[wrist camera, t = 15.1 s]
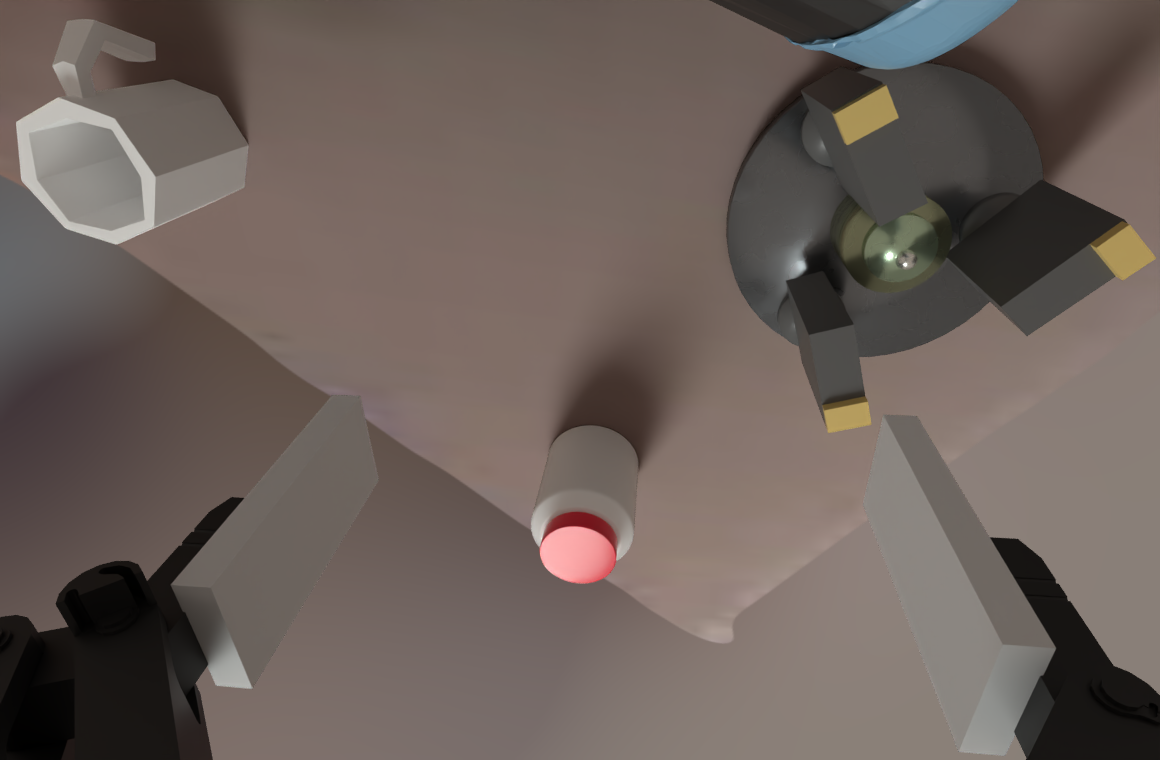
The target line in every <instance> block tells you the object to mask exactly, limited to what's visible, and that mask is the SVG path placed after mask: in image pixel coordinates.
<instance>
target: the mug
mask: <svg viewBox="0 0 1160 760" xmlns="http://www.w3.org/2000/svg"><path fill="white" fill-rule="evenodd" d="M100 50H101V51H103V52H106V53H108V54H110V55H113V56H115V57H117V58H120V59H122V60H125V61H133V62H148V61H154V60H156V52H155V42H152V41H149V40H147V39H144V38H141V37H139V36H136V35H133V34H131V33H128V32H125V31H123V30H120V29H117V28H115V27H112V26H109V25H107V24H104V23H101V22H99V21H96V20H89V19H79V20H71V21H67V23H66V26H65V29H64V32H63V35H62V38H61V41H60V44H59V47H58V50H57V53H56V56H55V59H54V62H53V65H52V66H53V68H54V70H55V72H56V74H57V76H58V78H59V81H60V83H61V85H62V87H63V89H64V91H65V93H66V95H67V96H64V97H58V98H56V99H55V100H53V101H51V102H50V103H48V104H46V105H44V106H43V107H41V108H39V109H38V110H36V111H34V112H32V113H31V114H29V115H27V116H26V117H24V118H22V119H21V120H19V121H17V122H16V127H17V137H18V148H19V159H20V170H21V180H22V182H23V183H24V184H25V185H26V186H27V187H28V188H29V189H30V190H31V191H32V193H33V194H34V195H35V196H36V197H37V198H38V199H39V200H40V201H41V202H42V203H43V204H44V206H45V207H46V208H47V209H48V210H49V211H50V212H51V213H52V214H53V215H54V216H55V217H56V219H57V220H58V221H59V222H60V223H61V224H62V225H63V226H64V227H65V228H66V229H69V230H72V231H75V232H78V233H81V234H84V235H88V236H91V237H94V238H97V239H101V240H103V241H107V242H110V243H113V244H116V245H117V244H119V243H122V242H124V241H126V240H128V239H131V238H133V237H135V236H138V235H140V234H142V233H144V232H147V231H149V230H151V229H153V228H156V227H158V226H160V225H162V224H165V223H167V222H169V221H172V220H174V219H176V218H178V217H181V216H183V215H185V214H187V213H190V212H192V211H194V210H196V209H199V208H201V207H203V206H206V205H208V204H210V203H212V202H214V201H217V200H219V199H221V198H223V197H225V196H227V195H229V194H232V193H234V192H236V191H238V190H240V189H242V188H244V187H245V177H246V167H247V158H248V148H249V145H248V143H247V142H246V140H245V138H244V137H243V135H242V134H241V132H240V130H239V129H238V127H237V126H236V124H235V122H234V121H233V119H232V118H231V116H230V114H229V113H228V111H227V110H226V108H225V107H224V105H223V103H222V102H221V100H220V99H219V97H218V96H216V95H213V94H210V93H208V92H205V91H202V90H200V89H197V88H195V87H192V86H189V85H187V84H184V83H181V82H179V81H176V80H173V79H172V80H166V81H159V82H153V83H147V84H140V85H134V86H128V87H121V88H115V89H109V90H102V91H95V87H94V83H93V79H92V75H91V70H92V68H93V65H94V63H95V61H96V59H97V57H98V55H99V52H100Z"/></svg>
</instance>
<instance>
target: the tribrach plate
mask: <svg viewBox="0 0 1160 760" xmlns="http://www.w3.org/2000/svg"><path fill="white" fill-rule="evenodd" d="M852 71H855V72H857V73H860V74H863V75H865V76H868V77H871V78H873V79H876V80H879V81H881V82H882V83H883V84H885V85H887V88H888V91H889V93H890V96H891V99H892V101H893V104H894V106H895V109H896V112H897V114H898V117H899V118H897V119H896V120H897V123H898V125H899V128H900V130H901V133H902V136H903V138H904V141H905V144H906V146H907V149H908V151H909V154H910V157H911V159H912V162H913V165H914V167H915V170H916V172H917V175H918V178H919V180H920V183H921V186H922V188H923V191H924V194H925V196H926V199H927V201H928V203H927V204H925V205H923V206H921V207H919V208H917V209H915V210H913V211H911V212H909V213H907V214H905V215H903V216H901V217H899V218H897V219H894V220H892V221H890V222H888V223H886V224H884V225H882V226H880V227H879V226H878V225H877V224H876V223H875V221H874V220H873V219H872V218H871V217H870V216H869V215H868V214H867V213H866V212H865V211H864V210H863V209H862V208H861V207H860V205H859V204H858V203H857V202H856V201H855V200H854V199H853V198H852V197H851V196H850V195H849V194H848V193H847V192H846V191H845V189H844V188H843V187H842V185H841V183H840V181H839V178H838V176H837V174H836V171H835V169H834V167H828V166H824V165H822V164H820V163H818V162H816V161H815V160H814V159H813V158H812V157H811V156H810V155H809V154H808V153H807V151H806V150H805V148H804V146H803V144H802V140H801V124H802V120H803V117H804V115H805V113H806V111H807V109H808V106H807V104H806V102H805V99H804V97H803V95H801V96H800V97H798V98H797V99H796V100H795V101H793V102H792V103H791V104H790V105H789V106H787V107H786V108H785V109H784V110H783V111H781V112H780V113H779V114H778V116H777V117H776V118H775V119H774V120H773V121H772V122H771V123H770V124H769V125H768V126H767V127H766V128H765V130H764V131H763V132H762V134H761V135H760V136H759V138H758V139H757V140H756V142H755V143H754V144H753V146H752V147H751V149H750V151H749V153H748V154H747V156H746V158H745V160H744V161H743V163H742V165H741V168H740V170H739V172H738V175H737V177H736V180H735V182H734V186H733V189H732V193H731V196H730V200H729V206H728V213H727V229H726V237H727V245H728V253H729V257H730V262H731V265H732V269H733V273H734V276H735V279H736V281H737V283H738V286H739V288H740V290H741V293H742V294H743V296H744V297H745V299H746V301H747V302H748V304H749V305H750V307H751V308H752V309H753V311H754V312H755V313H756V314H757V315H758V316H759V318H760V319H761V320H762V321H763V322H765V323H766V324H767V325H768V326H769V327H770V328H771V329H772V330H774V331H775V332H777V333H778V334H780V335H781V336H783V334H782V332H781V330H780V327H779V324H778V320H777V313H778V309H779V306H780V304H781V302H782V300H783V299H784V298H785V296H786V295H787V294H788V289H787V284H786V280H789V279H793V278H797V277H801V276H805V275H809V274H813V273H817V272H821V271H824V273H825V275H826V277H827V278H828V280H829V282H830V284H831V285H832V287H833V289H834V291H835V292H837V294H838V295H839V296H840V298H841V299H842V301H843V303H844V305H845V308H846V311H847V313H848V315H849V317H850V318H851V320H852V322H853V324H854V328H855V334H856V340H857V347H858V353H859V357H872V356H880V355H887V354H892V353H896V352H901V351H905V350H909V349H912V348H914V347H917V346H920V345H923V344H925V343H928V342H930V341H932V340H934V339H936V338H939V337H941V336H943V335H945V334H947V333H948V332H950V331H952V330H953V329H955V328H956V327H958V326H960V325H961V324H963V323H964V322H966V321H967V320H968V319H970V318H971V317H972V316H974V315H975V314H976V313H978V312H979V311H980V310H981V309H982V308H983V307H984V306H985V305H986V304H988V303H989V302H990V301H989V300H988V299H987V298H986V297H985V296H983V295H982V294H981V293H980V292H979V291H978V290H977V289H976V288H975V287H974V286H973V285H972V284H971V283H970V282H968V281H967V280H966V279H965V277H964V276H963V275H962V274H961V273H960V272H959V271H958V270H957V269H956V268H955V266H954V265H953V264H952V263H951V262H950V261H949V260H948V259H947V258H946V257H947V255H948V253H949V250H950V249H952V248H953V247H954V246H956V245H957V244H958V243H959V228H960V224H961V222H962V220H963V218H964V216H965V215H966V213H967V212H968V211H969V210H970V209H971V208H972V207H973V206H974V205H975V204H976V203H977V202H979V201H980V200H982V199H984V198H986V197H988V196H990V195H993V194H997V193H1005V192H1007V193H1015V194H1019V195H1021V194H1023V193H1024V192H1025V191H1027V190H1028V189H1029V188H1030V187H1032V186H1033V185H1034V184H1036V183H1037V182H1038V181H1040V180H1043V167H1042V162H1041V157H1040V153H1039V148H1038V145H1037V143H1036V140H1035V138H1034V135H1033V133H1032V130H1031V128H1030V127H1029V125H1028V123H1027V122H1026V120H1025V118H1024V117H1023V115H1022V114H1021V112H1020V111H1019V110H1018V109H1017V108H1016V107H1015V105H1014V104H1013V103H1012V102H1011V101H1010V100H1009V99H1008V98H1007V97H1006V96H1005V95H1004V94H1002V93H1001V92H1000V91H999V90H997V89H996V88H995V87H994V86H992V85H991V84H989V83H987V82H985V81H984V80H982V79H980V78H978V77H976V76H975V75H972V74H969V73H967V72H964V71H961V70H958V69H956V68H952V67H948V66H943V65H938V64H933V63H928V62H923V63H920V64H917V65H914V66H910V67H905V68H900V69H890V70H887V69H875V68H869V67H866V66H863V67H859V68H856V69H853V70H852ZM783 337H784V336H783ZM784 338H785V337H784Z"/></svg>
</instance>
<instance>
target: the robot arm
mask: <svg viewBox="0 0 1160 760" xmlns="http://www.w3.org/2000/svg"><path fill="white" fill-rule="evenodd" d="M710 1H712V2H714V3H716V4H718V5H720V6H723V7H725V8H727V9H729V10H731V11H733V12H735V13H737V14H739V15H741V16H743V17H745V18H747V19H750V20H752V21H754V22H756V23H758V24H760V25H762V26H764V27H766V28H768V29H770V30H772V31H774V32H777V33H779V34H781V35H783V36H784V37H785V38H786V39H787V40H788V41H789V42H791V43H792V44H794V45H800V46H801V47H803V48H804V49H810V50H823V51H826V52H829V53H831V54H834V55H837V56H839V57H842V58H845V59H847V60H850V61H852V62H855V63H858V64H860V65H863V66H866V67H869V68H875V69H887V70H890V69H900V68H905V67H910V66H914V65H917V64H920V63H923V62H926V61H929V60H931V59H933V58H936V57H938V56H940V55H942V54H944V53H946V52H948V51H949V50H951V49H953V48H955V47H957V46H958V45H960V44H961V43H963V42H965V41H966V40H968V39H969V38H971V37H972V36H974V35H975V34H977V33H978V32H979V31H981V30H982V29H984V28H985V27H986V26H988V25H989V24H990V23H992V22H993V21H994V20H996V19H997V18H998V17H999V16H1001V15H1002V14H1003V13H1004V12H1006V11H1007V10H1008V9H1009V8H1010V7H1012V6H1013V5H1014V4H1015V3H1016V2H1017V1H1018V0H710ZM378 480H379V479H378V475H377V470H376V465H375V461H374V456H373V451H372V447H371V442H370V438H369V434H368V429H367V424H366V419H365V415H364V410H363V406H362V401H361V397H360V396H347V395H332V396H331V397H330V399H329V400H328V401H327V402H326V403H325V404H324V406H323V407H322V408H321V409H320V410H319V412H318V413H317V414H316V415H315V416H314V418H313V419H312V420H311V421H310V422H309V423H308V424H307V426H306V427H305V428H304V429H303V430H302V432H301V433H300V434H299V435H298V436H297V437H296V439H295V440H294V441H293V442H292V443H291V444H290V446H289V447H288V448H287V449H286V450H285V452H284V453H283V454H282V455H281V456H280V457H279V458H278V460H277V461H276V462H275V463H274V464H273V466H272V467H271V468H270V469H269V470H268V471H267V473H266V474H265V475H264V476H263V477H262V478H261V479H260V481H259V482H258V483H257V484H256V485H255V487H254V488H253V489H252V490H251V491H250V492H249V494H248V495H247V496H246V497H245V498H234V497H232V498H230V499H228V500H227V501H225V502H224V503H222V504H221V505H219V506H217V507H216V508H214V509H213V510H211V511H210V512H209V513H208V514H207V515H206V516H205V518H203V520H202V521H201V522H200V523H199V524H198V525H197V526H196V528H195V530H194V532H191V533H190V534H189V535H188V536H187V537H186V539H185V540H184V541H183V542H182V546H178V548H177V549H176V550H175V551H174V552H173V553H172V554H171V555H170V556H169V557H168V559H167V560H166V561H165V562H164V563H163V564H162V565H161V566H160V568H159V569H158V570H157V571H156V572H155V573H154V574H153V575H152V576H151V578H150V579H149V580H148V581H147V580H146V578H145V576H144V574H143V572H142V570H141V568H140V567H139V565H138V564H135V563H133V562H130V561H114V562H110V563H106V564H102V565H99V566H96V567H94V568H92V569H90V570H88V571H86V572H84V573H82V574H81V575H79V576H78V577H76V578H75V579H74V580H72V581H71V582H69V583H68V584H67V586H66V587H65V588H64V589H63V590H62V591H61V592H60V593H59V596H58V599H57V602H56V606H57V607H58V609H59V611H60V613H61V614H62V616H63V618H64V619H65V621H66V623H67V625H68V626H69V627H65V628H60V629H55V630H49V631H44V632H39V633H38V632H37V630H36V629H35V627H34V625H33V624H32V623H31V621H30V620H29V619H28V618H27V617H23V616H19V615H13V616H5V617H0V760H213V759H212V753H211V748H210V742H209V737H208V732H207V727H206V722H205V716H204V711H203V706H202V700H201V695H200V692H199V690H198V688H197V686H196V684H195V683H196V681H197V680H198V679H199V677H200V675H201V674H202V673H203V671H204V670H205V668H206V667H207V666H208V669H209V671H210V673H211V675H212V677H213V680H214V682H215V684H216V686H217V685H218V686H228V687H238V688H250V689H252V688H253V687H254V685H255V684H256V682H257V681H258V679H259V677H260V675H261V674H262V672H263V671H264V669H265V667H266V666H267V664H268V662H269V661H270V659H271V657H272V656H273V654H274V652H275V651H276V649H277V647H278V646H279V644H280V642H281V641H282V639H283V637H284V636H285V634H286V633H287V630H288V629H289V628H290V626H291V624H292V622H293V621H294V619H295V618H296V616H297V614H298V613H299V611H300V609H301V607H302V606H303V604H304V603H305V601H306V599H307V598H308V596H309V594H310V593H311V591H312V590H313V588H314V586H315V585H316V583H317V581H318V580H319V578H320V576H321V575H322V573H323V571H324V570H325V568H326V566H327V565H328V563H329V561H330V560H331V558H332V556H333V555H334V553H335V552H336V550H337V548H338V546H339V545H340V543H341V542H342V540H343V538H344V536H345V535H346V533H347V532H348V530H349V528H350V526H351V525H352V523H353V521H354V520H355V518H356V517H357V515H358V513H359V512H360V510H361V509H362V507H363V505H364V504H365V502H366V500H367V499H368V497H369V495H370V494H371V492H372V490H373V489H374V487H375V485H376V484H377V482H378ZM863 506H864V509H865V511H866V514H867V517H868V519H869V522H870V524H871V527H872V529H873V532H874V535H875V537H876V540H877V542H878V545H879V547H880V550H881V553H882V555H883V558H884V560H885V563H886V566H887V568H888V571H889V573H890V576H891V579H892V581H893V583H894V586H895V589H896V592H897V594H898V597H899V599H900V602H901V604H902V607H903V610H904V612H905V615H906V617H907V620H908V622H909V625H910V628H911V630H912V633H913V636H914V638H915V641H916V643H917V646H918V648H919V650H920V654H921V656H922V659H923V661H924V664H925V666H926V669H927V672H928V674H929V677H930V679H931V682H932V685H933V687H934V690H935V692H936V695H937V698H938V700H939V703H940V705H941V708H942V710H943V713H944V715H945V718H946V721H947V723H948V726H949V728H950V731H951V733H952V736H953V739H954V742H955V744H956V747H957V749H958V752H967V753H979V754H989V755H1000V756H1005V755H1006V753H1007V751H1008V749H1009V747H1010V745H1011V743H1012V741H1013V738H1014V736H1015V735H1016V737H1017V739H1018V741H1019V743H1020V745H1021V747H1022V749H1023V751H1024V754H1025V756H1026V758H1027V759H1026V760H1160V695H1159V694H1158V693H1157V692H1156V691H1155V690H1154V689H1153V688H1152V687H1151V686H1150V685H1148V684H1147V683H1146V682H1144V681H1142V680H1141V679H1139V678H1138V677H1136V676H1135V675H1133V674H1132V673H1130V672H1128V671H1125V670H1123V669H1120V668H1118V667H1115V666H1113V664H1112V663H1111V661H1110V660H1109V658H1108V657H1107V655H1106V654H1105V652H1104V651H1103V649H1102V648H1101V646H1100V645H1099V644H1098V642H1097V641H1096V639H1095V637H1094V636H1093V634H1092V633H1091V631H1090V630H1089V628H1088V627H1087V626H1086V624H1085V623H1084V621H1083V619H1082V618H1081V617H1080V615H1079V614H1078V612H1077V611H1076V609H1075V608H1074V606H1073V605H1072V603H1071V602H1070V601H1068V600H1067V596H1066V594H1065V593H1064V591H1063V590H1062V588H1061V587H1060V585H1059V584H1056V580H1055V578H1054V576H1053V575H1052V574H1051V572H1050V570H1049V569H1048V567H1047V566H1046V564H1045V563H1044V561H1043V560H1042V558H1041V557H1039V556H1038V555H1037V554H1036V553H1034V552H1033V551H1032V550H1031V549H1029V548H1028V547H1027V546H1026V545H1025V544H1023V543H1022V542H1021V541H1019V539H1009V538H991V537H989V535H988V534H987V532H986V530H985V529H984V527H983V526H982V524H981V522H980V521H979V519H978V517H977V515H976V514H975V512H974V510H973V509H972V507H971V506H970V504H969V502H968V500H967V499H966V497H965V495H964V494H963V492H962V490H961V489H960V487H959V485H958V484H957V482H956V480H955V479H954V478H953V475H952V474H951V472H950V470H949V469H948V467H947V465H946V464H945V462H944V460H943V459H942V457H941V455H940V454H939V452H938V450H937V449H936V447H935V445H934V444H933V442H932V440H931V439H930V437H929V435H928V434H927V432H926V430H925V429H924V427H923V425H922V424H921V422H920V420H919V419H918V417H917V416H904V415H883V419H882V423H881V427H880V432H879V436H878V440H877V445H876V449H875V454H874V458H873V462H872V467H871V471H870V475H869V480H868V484H867V488H866V493H865V497H864V502H863Z"/></svg>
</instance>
